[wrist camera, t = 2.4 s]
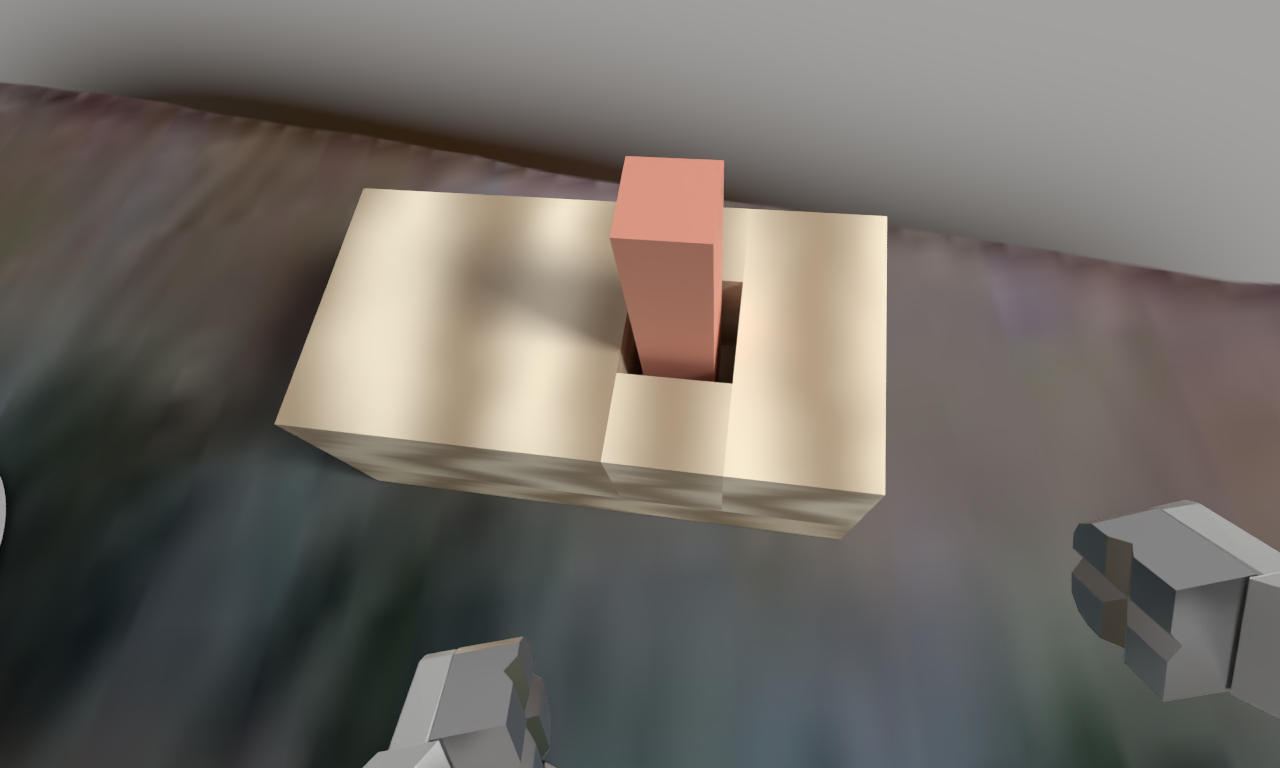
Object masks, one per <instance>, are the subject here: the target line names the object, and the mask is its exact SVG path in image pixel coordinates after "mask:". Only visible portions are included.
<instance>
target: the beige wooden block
mask: <svg viewBox="0 0 1280 768" xmlns="http://www.w3.org/2000/svg"><path fill="white" fill-rule="evenodd" d="M616 203H617V202H610V201H591V200H573V199H554V198H535V197H516V196H498V195H479V194H460V193H441V192H423V191H404V190H385V189H366V188H364V189H363V192H362V194H361V197H360V200H359V202H358V205H357V208H356V210H355V213H354V215H353V218H352V221H351V223H350V226H349V229H348V231H347V234H346V237H345V239H344V242H343V244H342V247H341V250H340V252H339V255H338V258H337V260H336V263H335V266H334V268H333V271H332V273H331V276H330V279H329V281H328V284H327V287H326V289H325V292H324V295H323V297H322V300H321V303H320V305H319V308H318V310H317V313H316V316H315V318H314V321H313V324H312V326H311V329H310V332H309V334H308V337H307V339H306V342H305V345H304V347H303V350H302V353H301V355H300V358H299V361H298V363H297V366H296V368H295V371H294V374H293V376H292V379H291V382H290V384H289V387H288V390H287V392H286V395H285V397H284V400H283V403H282V405H281V408H280V411H279V413H278V416H277V419H276V421H275V425H277V426H279V427H281V428H282V429H284V430H286V431H288V432H290V433H292V434H293V435H295V436H297V437H299V438H301V439H303V440H305V441H306V442H308V443H310V444H312V445H314V446H316V447H317V448H319V449H321V450H323V451H325V452H327V453H328V454H330V455H332V456H334V457H336V458H338V459H340V460H341V461H343V462H345V463H347V464H349V465H351V466H352V467H354V468H356V469H358V470H360V471H362V472H363V473H365V474H367V475H369V476H371V477H373V478H375V479H376V480H379V481H386V482H394V483H402V484H410V485H418V486H426V487H434V488H441V489H449V490H457V491H465V492H473V493H481V494H488V495H496V496H504V497H512V498H520V499H528V500H535V501H543V502H551V503H559V504H567V505H575V506H582V507H590V508H598V509H606V510H614V511H622V512H629V513H637V514H645V515H653V516H661V517H669V518H677V519H684V520H692V521H700V522H708V523H716V524H724V525H731V526H739V527H747V528H755V529H763V530H771V531H778V532H786V533H794V534H802V535H810V536H818V537H825V538H833V539H841V538H842V537H843V536H844V535H845V534H847V533H848V532H849V531H850V530H851V529H852V528H853V527H854V526H855V525H856V524H857V523H858V522H859V521H860V520H861V519H862V518H863V517H864V516H865V515H866V514H867V513H868V512H869V511H870V510H871V509H872V508H873V507H874V506H875V505H876V504H877V503H878V502H879V501H880V500H881V499H882V498H883V497H884V496H885V444H886V300H887V216H873V215H853V214H835V213H817V212H798V211H779V210H760V209H742V208H723V248H722V307H721V360H720V369H719V378H718V382H708V381H698V380H687V379H676V378H666V377H655V376H645V375H644V374H643V370H642V366H641V362H640V358H639V354H638V350H637V346H636V342H635V338H634V334H633V330H632V326H631V322H630V318H629V314H628V310H627V306H626V302H625V298H624V294H623V290H622V286H621V282H620V278H619V274H618V270H617V266H616V262H615V258H614V254H613V250H612V246H611V242H610V233H611V228H612V223H613V218H614V213H615V208H616Z"/></svg>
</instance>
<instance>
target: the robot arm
mask: <svg viewBox="0 0 1280 768" xmlns="http://www.w3.org/2000/svg"><path fill="white" fill-rule="evenodd" d="M5 517H6V499H5V492H4V486H3V483H2V479H1V477H0V544H1V541H2V536H3V532H4V526H5ZM1073 548H1074V549H1075V550H1076V551H1077V552H1078V553H1079V554H1080V555H1081V557H1082V560H1081V561H1080V562H1079V564H1078V565H1077V566H1076V568H1075V569H1074V570H1073V572H1072V594H1073V597H1074V600H1075V602H1076V605H1077V608H1078V611H1079V612H1080V614H1081V615H1082V617H1083V619H1084V620H1085V622H1086V623H1087V625H1088V626H1089V627H1090V628H1091V629H1092V630H1093V631H1094V632H1095V633H1096V634H1097V635H1098V636H1099V637H1100V638H1101V639H1103V640H1105V641H1108V642H1110V643H1112V644H1115V645H1117V646H1119V647H1122V648H1124V662H1125V664H1126V665H1127V666H1128V667H1129V668H1130V669H1131V670H1132V671H1133V672H1134V673H1135V674H1136V675H1137V676H1138V677H1139V678H1140V679H1141V680H1142V681H1143V682H1144V683H1145V684H1146V685H1147V686H1148V687H1149V688H1150V689H1151V690H1152V691H1153V692H1154V693H1155V694H1156V695H1157V696H1158V697H1159V698H1160V699H1161V700H1162V701H1169V700H1175V699H1181V698H1187V697H1193V696H1199V695H1205V694H1211V693H1217V692H1223V691H1229V690H1231V692H1230V694H1232V695H1234V696H1236V697H1238V698H1240V699H1242V700H1244V701H1245V702H1247V703H1249V704H1251V705H1253V706H1255V707H1257V708H1259V709H1261V710H1263V711H1265V712H1267V713H1269V714H1271V715H1273V716H1275V717H1277V718H1279V719H1280V553H1279V552H1278V551H1276V550H1274V549H1273V548H1271V547H1269V546H1268V545H1266V544H1265V543H1263V542H1261V541H1260V540H1258V539H1256V538H1255V537H1253V536H1251V535H1250V534H1248V533H1247V532H1245V531H1243V530H1242V529H1240V528H1238V527H1237V526H1235V525H1234V524H1232V523H1230V522H1229V521H1227V520H1225V519H1224V518H1222V517H1221V516H1219V515H1217V514H1216V513H1214V512H1212V511H1211V510H1209V509H1208V508H1206V507H1204V506H1203V505H1201V504H1199V503H1196V502H1192V501H1188V500H1182V501H1178V502H1174V503H1169V504H1165V505H1160V506H1156V507H1151V508H1149V509H1148V510H1141V511H1137V512H1132V513H1127V514H1122V515H1117V516H1113V517H1108V518H1103V519H1098V520H1094V521H1089V522H1084V523H1079V524H1078V526H1077V528H1076V530H1075V532H1074V537H1073ZM533 666H534V654H533V651H532V649H531V646H530V643H529V641H528V639H526V638H525V637H518V638H513V639H507V640H501V641H496V642H490V643H485V644H479V645H473V646H468V647H462V648H459V649H454V650H449V651H443V652H438V653H432V654H427V655H425V656H424V657H423V658H422V659H421V660H420V662H419V663H418V666H417V669H416V672H415V675H414V678H413V681H412V683H411V686H410V689H409V692H408V695H407V698H406V700H405V703H404V706H403V709H402V712H401V715H400V718H399V720H398V723H397V726H396V729H395V732H394V735H393V737H392V740H391V743H390V746H389V749H388V750H387V751H383V752H378V753H377V754H376V755H375V756H374V757H373V758H372V759H371V760H370V761H369V762H368V763H367V764H366V765H365V766H364V767H363V768H544V766H543V763H542V759H543V757H544V756H545V754H546V753H547V752H548V750H549V749H550V741H551V718H550V707H549V702H548V697H547V692H546V689H545V686H544V683H543V680H542V679H541V678H539V677H538V676H536V675H535V674H533Z"/></svg>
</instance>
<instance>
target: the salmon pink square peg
mask: <svg viewBox="0 0 1280 768" xmlns="http://www.w3.org/2000/svg"><path fill="white" fill-rule="evenodd" d="M723 188H724V160H703V159H679V158H655V157H632V156H626V157H625V162H624V167H623V172H622V178H621V182H620V187H619V193H618V198H617V203H616V208H615V213H614V218H613V223H612V228H611V233H610V242H611V246H612V250H613V254H614V258H615V262H616V266H617V270H618V274H619V278H620V282H621V286H622V290H623V294H624V298H625V302H626V306H627V310H628V314H629V318H630V322H631V326H632V330H633V334H634V338H635V342H636V346H637V350H638V354H639V358H640V362H641V366H642V370H643V374H644V375H645V376H655V377H666V378H676V379H687V380H698V381H708V382H718V378H719V369H720V360H721V307H722V248H723V190H724V189H723Z"/></svg>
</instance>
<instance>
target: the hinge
mask: <svg viewBox="0 0 1280 768" xmlns="http://www.w3.org/2000/svg"><path fill="white" fill-rule="evenodd" d="M544 768H556V767H554V766H552V765H550V764H548V763H546V762H545V763H544Z"/></svg>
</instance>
